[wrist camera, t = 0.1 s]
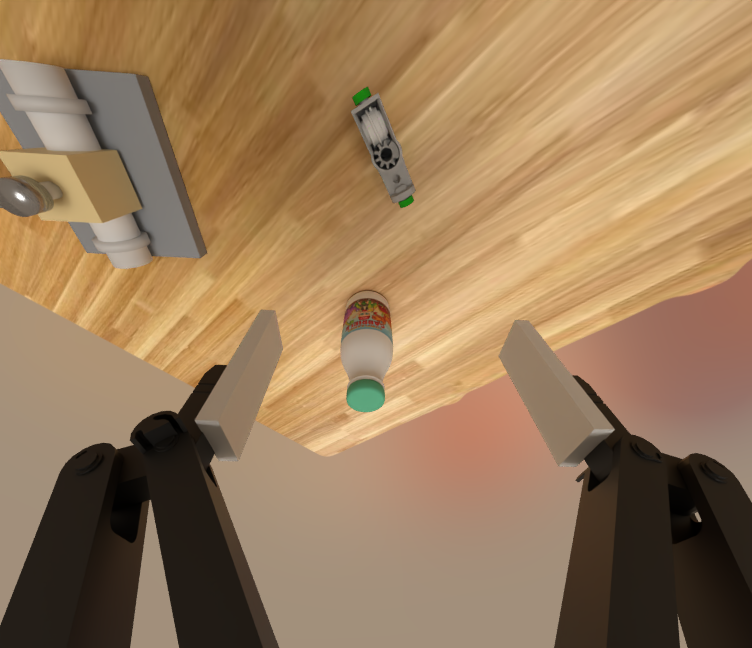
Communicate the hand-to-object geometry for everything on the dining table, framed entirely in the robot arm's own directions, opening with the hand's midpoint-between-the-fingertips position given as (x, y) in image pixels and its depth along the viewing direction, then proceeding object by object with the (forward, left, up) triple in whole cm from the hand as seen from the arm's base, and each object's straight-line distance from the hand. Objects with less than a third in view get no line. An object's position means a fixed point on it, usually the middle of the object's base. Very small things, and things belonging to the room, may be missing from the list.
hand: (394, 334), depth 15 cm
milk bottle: (+17, -1, -28) cm, 33 cm away
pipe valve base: (-2, -34, -28) cm, 44 cm away
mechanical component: (-7, 0, -28) cm, 29 cm away
